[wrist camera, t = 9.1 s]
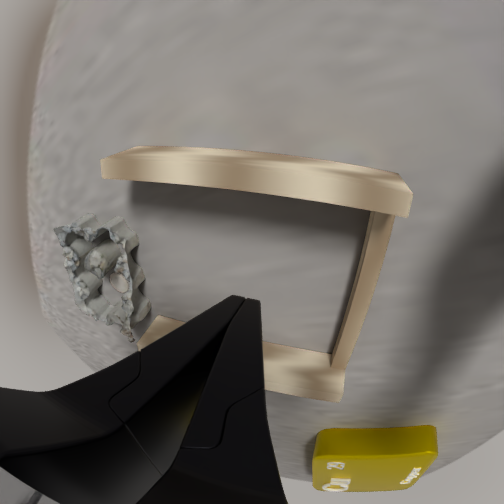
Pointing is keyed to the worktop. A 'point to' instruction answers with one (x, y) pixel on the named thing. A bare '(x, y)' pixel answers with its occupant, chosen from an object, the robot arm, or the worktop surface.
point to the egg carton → (104, 270)
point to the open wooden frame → (296, 186)
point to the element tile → (372, 458)
